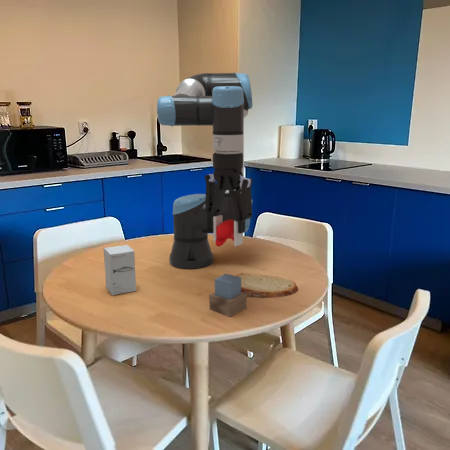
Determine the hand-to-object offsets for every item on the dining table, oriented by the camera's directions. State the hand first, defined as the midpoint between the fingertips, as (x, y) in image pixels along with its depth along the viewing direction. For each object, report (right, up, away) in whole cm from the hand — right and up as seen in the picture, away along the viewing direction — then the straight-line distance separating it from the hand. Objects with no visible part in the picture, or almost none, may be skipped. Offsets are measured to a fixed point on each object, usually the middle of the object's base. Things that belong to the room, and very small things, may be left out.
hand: (228, 242), depth 117 cm
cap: (0, -1, 0) cm, 1 cm away
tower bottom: (0, -18, +5) cm, 19 cm away
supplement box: (-32, -15, +18) cm, 39 cm away
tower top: (0, -14, +4) cm, 14 cm away
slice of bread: (+10, -15, +18) cm, 26 cm away
